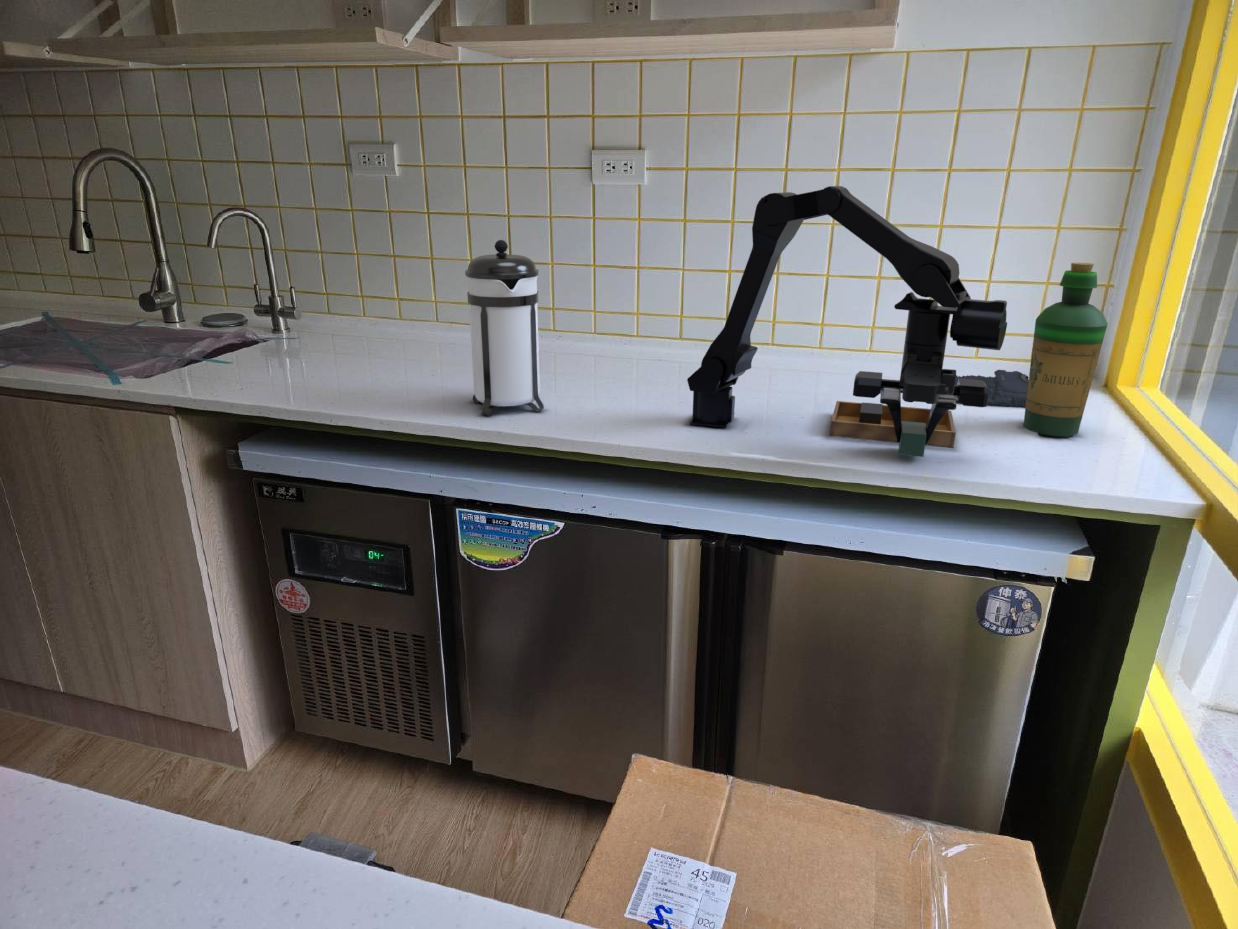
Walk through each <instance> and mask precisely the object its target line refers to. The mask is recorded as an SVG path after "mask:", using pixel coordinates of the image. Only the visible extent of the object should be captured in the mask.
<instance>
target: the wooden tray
mask: <svg viewBox="0 0 1238 929" xmlns="http://www.w3.org/2000/svg"><path fill="white" fill-rule="evenodd" d="M861 404H862V402H855V401H844V400H836V402H835V405H834V408H833V413H832V416H831V419H830V425H829V427H830V428H829V436H830V437H839V438H849V439H861V440H870V441H880V442H891V443H898V442H897V438H896V433H895V428H894V423H893V419H892V416H891V413H890V410H889V408H888V406H887V405H886V404H883V407H882V418H881V425H880V424H869V423H859V417H860V409H861ZM930 411H931V408H925V407H912V406H902V405H901V423H902V421H908V422H919V423H925V425H926V426H927V422H928V418H929V414H930ZM956 435H957V430H956V427H955V422H954V417H953V412H952V410H948V411H947V412H946V413H945V414H944V415H943V417H942V418H941V419H940V421H939V422H938V424H937V426H936V428H935V430H934V432H933V433H932V435H931V437H930V439H929V441H928V443H927V445H926V446H931V447H942V448H951V449H954V447H955V441H956Z"/></svg>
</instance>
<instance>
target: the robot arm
mask: <svg viewBox="0 0 1238 929" xmlns="http://www.w3.org/2000/svg"><path fill="white" fill-rule="evenodd" d="M824 216H829V217H830V218H832V219H833V220H834V221H836V223H838V224H839V225H841V226H842V227H844V228H845V229H846V230H847V231H849V232H850V233H851V234H852V235H855V237H857V238H858V239H860V240H861V241H862V242H863V243H865V244H866V245H867V246H869V247H870V248H872V249H873V250H874V251H875V252H877V253H878V254H879V255H881V256H882V257H883V258H885V259H886V260H887V261H888V262H889V263H890V264H891V265H892V266H893V268H894V269H895V271H896V272H897V275H898V276H899V277H900V278H901V279H902V280H903V281H904V283H905V284H906V285H907V286H908V287H909V288H910V289H911V290H912V291H910V292H908V293H906V294H905V296H904V297H903V298H902V299H901V300H900V301H898V302H896V303H895V304H894V306H893V308H894V309H895V310H900V311H908V314H907V322H906V329H905V338H904V344H903V351H902V359H901V360H902V361H901V369H900V376H899V379H888V378H883V372H879V371H878V372H877V371H866V370H865V371H863V370H859V371H858V372H857V373H856V374H855V376H854V381H853V388H852V389H853V390H852V396H853V397H857V398H868V399H875V398H877V397H878V396H879V395H880V396H879V404H883V405H887V406H888V408H889V410H890V413H891V416H892V419H893V423H894V428H895V433H896V438H897V442H896V443H898V444H899V443H900V437H901V406H902V402H901V401H902V400H903V401H904V402H906V403H914V402H915V403H926V404H927V405H931V407H930V409H931V411H930V414H929V418H928V422H927V426H926V442H925V446H928V445H927V443H928V441H929V439H930V437H931V435H932V433H933V432H934V430H935V428H936V426H937V424H938V422H939V421H940V419H941V418H942V417H943V415H944V414H945V413H946V412H947V411H948V410H949V411H955V410H957V402H956V400H958V398H959V401H960V402H959V403H961V404H962V405H963V406H964V407H975V408H986V407H988V405H987V401H988V394H989V391H988V388H987V386H986V384H985V383H984V382H983V380H971V379H958V382H957V385H955V380H956V375H957V369H950V368H944V360H945V355H946V354H945V353H946V346H947V340H948V335H949V338H951V339H952V342H953V341H954V342H955V344H956V346H957V347H964V348H974V349H982V350H991V351H1000V350H1001V349H1002V347H1003V345H1004V341H1005V337H1006V332H1007V328H1008V322H1007V314H1008V313H1007V306H1008V301H1006V300H1003V299H994V300H986V299H985V300H983V299H974V298H973V299H972V298H971V296H970V294H969V292H968V291H967V289H966V287H965V286H964V283H963V282H962V280H961V278H960V265H959V263H958V261H957V260H956V258H955V257H953V256H952V255H951V254H949V253H947V252H944V251H942V250H941V249H938V248H936V247H934V246H932V245H929V244H927V243H924V242H921V241H919V240H916V239H914V238H912V237H911V236H908V235H907V234H906V233H905V232H903V231H902V230H901V229H899V228H898V227H897V226H895V225H894V224H892V223H891V222H890V221H888V220H887V219H885V218H884V217H883V216H882V215H880V214H879V213H877V212H876V211H875V210H873V209H872V208H871V207H869V206H868V205H866V203H864V202H863V201H861V200H860V199H859V198H858V197H856V196H854V195H853V194H852V193H851V192H850V191H849V189H847V187H845V186H843V185H830V186H825V187H824V188H822V189H818V190H814V191H813V190H812V191H808V192H803V193H798V194H797V193H795V192H791V191H790V192H789V191H788V192H784V191H783V192H772V193H768V194H766V195H764V196H762V197H761V198H760V199H759V201H758V202H757V204H756V206H755V210H754V216H753V221H752V226H751V233H752V234H751V236H752V237H751V238H752V247H751V250H750V254H749V256H748V259H747V262H746V265H745V268H744V270H743V273H742V275H741V279H740V281H739V285H738V287H737V290H736V293H735V294H734V298H733V301H732V303H731V306H730V310H729V312H728V315H727V316H726V317H727V318H726V321H725V323H724V325H723V328H722V330H721V331H720V332H719V333H718V335H717V336H716V337H715V339H714V340H713V341H712V342H711V344H710V345H709V347H708V348H707V351H706V352H705V354H704V356H703V358H702V359H701V364H700V366H699V368H697V369H696V370H695V371H694V372H693V373H692V374H691V375H690V376H688V377H687V379H686V380H687V385H688V388H689V391H690V392H693V394H692V417H691V419H690V420H689V425H692V426H702V427H710V428H711V427H712V428H721V429H726V428H727V427H728V426H729V425H730V424H731V422H733V420H734V419H735V409H736V408H735V407H736V396H735V395H733V386H735V385H736V384H737V382H738V380H739V377H741V376H743V375H744V374H745V373H746V371H748V370H751V369H752V362H753V359H754V357H755V355H756V353H757V352H758V346H755V345H752V342H751V334H752V331H753V329H754V326H755V323H756V320H757V318H758V315H759V312H760V310H761V307H762V304H763V302H764V300H765V296H766V294H767V291H768V289H769V286H770V283H771V280H772V278H773V275H774V273H775V271H776V268H777V265H778V262H779V259H780V257H781V255H782V254H783V252H784V250H785V249H786V248H787V247H788V246H789V244H791V242H792V240H793V239H794V238H795V237H796V235H797V233H798V231H799V229H800V227H801V226H802V224H803V222H804V221H806V220H810V219H815V218H820V217H824ZM915 294H916V295H917V296H920V298H919V297H917V296H916V295H915ZM921 297H922V298H921ZM951 315H952V319H951V321H950V318H951ZM949 326H950V327H949ZM949 328H950V329H949ZM948 333H949V334H948ZM901 396H902V397H901Z"/></svg>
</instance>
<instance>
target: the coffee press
mask: <svg viewBox="0 0 1238 929" xmlns="http://www.w3.org/2000/svg"><path fill="white" fill-rule="evenodd" d="M508 247H509V246H508V243H507V241H505V240H503V239H499V240H497V241H496V242H495V243H494V249H495V251H496V253H495V254H485V255H480V256H476V257H474V258H473V259H472V260H471V261H469V263H468V266H467V269H466V270H465V271H464V274H465V275H464V276H465V277H466V279H467V286H468V292H467V294H466V295H467V304H468V305H469V306H468V308H469V321H470V338H471V339H470V342H471V359H472V377H473V390H474V394H473V396H472V401H473V402H474V404H479V403H482V408H481V410H480V411H481V415H482V416H487V417H491V416H492V415H493V413H494V410H495V409H496V408H497V407H517V406H523V405H527V406H529V407H530V408H531V409H532V411H534V412H536V413H538V412H541V411H543V410H544V408H545V406H544V403H543V402H542V400H541V398H540V397H539V396H540V392H541V390H540V348H539V346H540V345H539V314H538V309H539V308H538V303H539V301H540V300H539V299H540V298H539V291H538V277H539V275H540V270H539V269H538V268H537V266H536V264H535V261H533V260H532V259H531V258H529V257H527V256H524V255H520V254H509V253H507V252H506V251H507V250H508ZM534 401H535V403H536V404H537V405H536V404H535V403H533V402H534Z"/></svg>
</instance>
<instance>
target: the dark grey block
mask: <svg viewBox="0 0 1238 929" xmlns="http://www.w3.org/2000/svg"><path fill="white" fill-rule="evenodd" d="M861 403H862V404H861V409H860V417H859V423H869V424H880V425H881V418H882V407H883V405H884V404H882V403H875V402H873V403H872V402H861Z"/></svg>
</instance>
